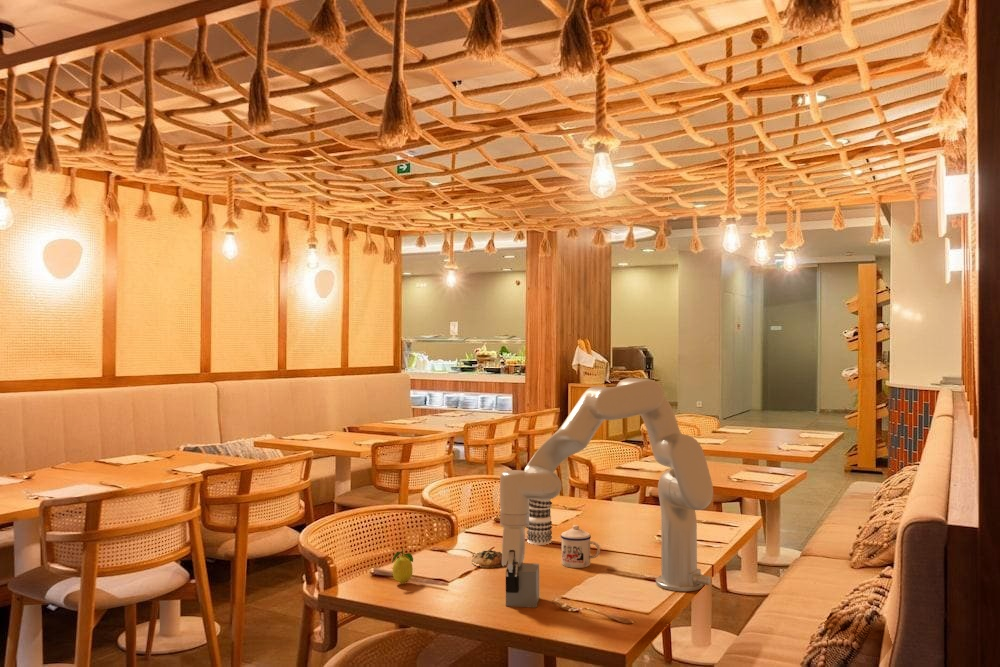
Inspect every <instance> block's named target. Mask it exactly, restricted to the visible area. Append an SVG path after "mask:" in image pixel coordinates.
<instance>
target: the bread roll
mask: <svg viewBox="0 0 1000 667" xmlns="http://www.w3.org/2000/svg"><path fill="white" fill-rule="evenodd" d="M472 562H474V563H476V564H479V565H480V567H479V568H481V567H482V568H481V569H495V568H502V567H503V566H502V551H496V550H492V549H490V550H489V549H488V550H482V551H481V552H477V553H476V554H474V555H473V557H472V558H471V563H472Z"/></svg>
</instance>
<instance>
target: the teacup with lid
mask: <svg viewBox="0 0 1000 667" xmlns="http://www.w3.org/2000/svg"><path fill="white" fill-rule="evenodd" d="M560 538H561V564H562V565H563V567H567V568H571V569H582V568H588V567H589V566H591V559H595V558H597V557H598V556H599V554H600V552H601V547H600V544H599V543H597V542H596V541H591V538H592V536H591V533H589V532H588V531H585V530H583V529H582V528H580V526H579V525H578V524H573V525H572V528H569V529H568V530H566V531H563V532H561V535H560ZM591 545H594V546H595V547H596V553H595V555H591Z"/></svg>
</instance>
